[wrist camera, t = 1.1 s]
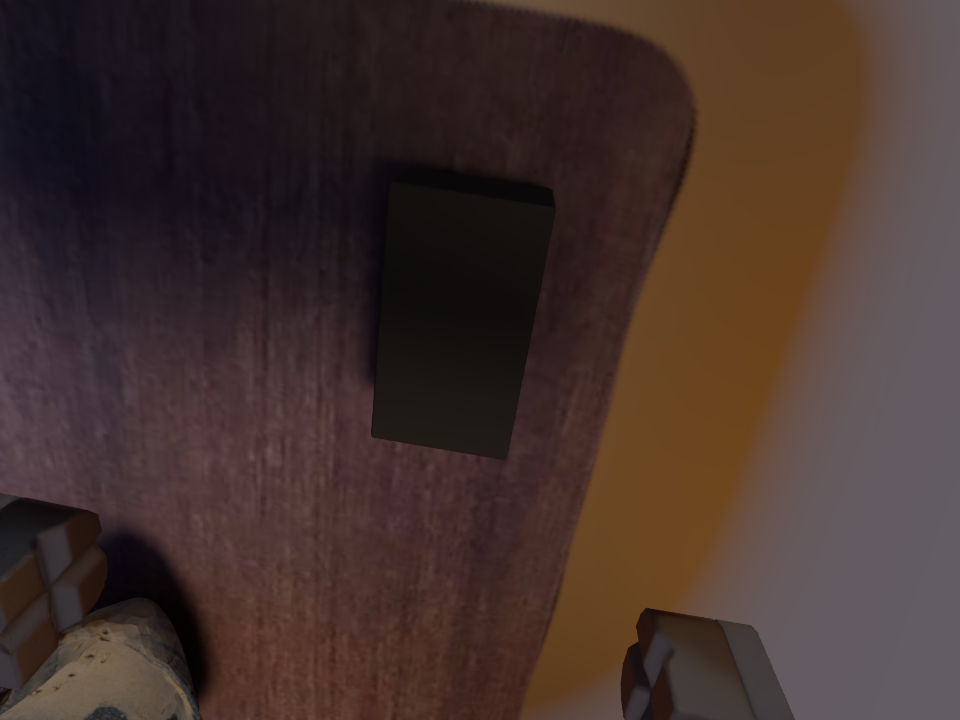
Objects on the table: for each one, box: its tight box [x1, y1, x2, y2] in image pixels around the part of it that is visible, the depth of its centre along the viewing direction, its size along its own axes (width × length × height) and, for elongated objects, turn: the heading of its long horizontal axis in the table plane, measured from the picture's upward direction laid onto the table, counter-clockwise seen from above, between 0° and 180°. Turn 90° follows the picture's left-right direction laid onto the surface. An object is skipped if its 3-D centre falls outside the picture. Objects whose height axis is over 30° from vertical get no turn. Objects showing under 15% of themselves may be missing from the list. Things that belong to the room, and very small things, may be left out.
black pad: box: [371, 167, 556, 460], centre depth 18 cm, size 8×4×3 cm, turn 172°
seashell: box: [0, 597, 202, 720], centre depth 26 cm, size 15×12×5 cm
